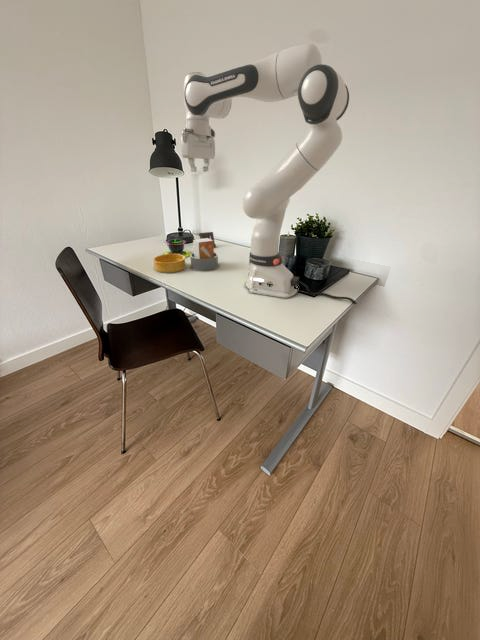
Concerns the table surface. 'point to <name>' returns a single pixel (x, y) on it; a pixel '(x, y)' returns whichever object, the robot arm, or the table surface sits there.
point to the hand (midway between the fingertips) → (200, 171)
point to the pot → (204, 263)
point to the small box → (203, 248)
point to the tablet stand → (207, 236)
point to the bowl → (169, 263)
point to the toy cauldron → (177, 247)
